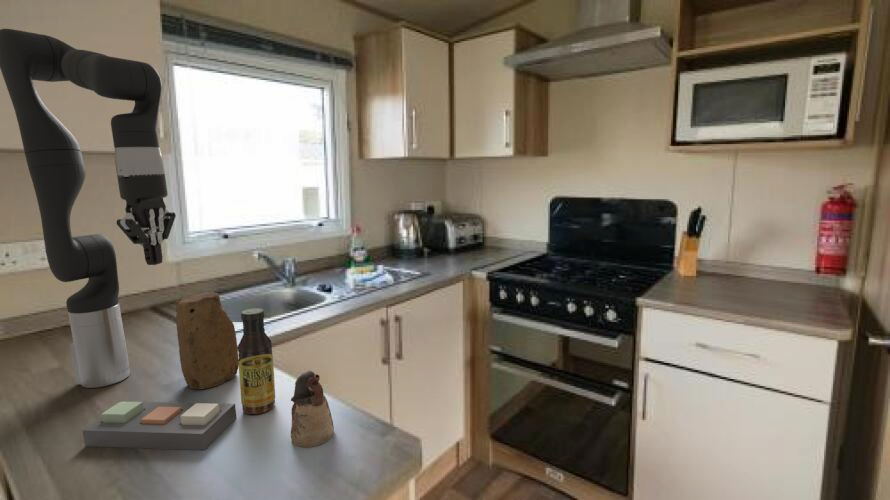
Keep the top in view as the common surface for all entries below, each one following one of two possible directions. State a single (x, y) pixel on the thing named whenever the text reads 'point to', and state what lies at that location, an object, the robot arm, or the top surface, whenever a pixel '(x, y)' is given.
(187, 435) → the button panel
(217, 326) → the brown sandstone rock
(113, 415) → the sage button
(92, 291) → the robot arm
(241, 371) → the sauce bottle
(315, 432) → the figurine
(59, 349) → the top surface
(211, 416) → the cream button
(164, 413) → the terracotta button
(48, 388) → the top surface
